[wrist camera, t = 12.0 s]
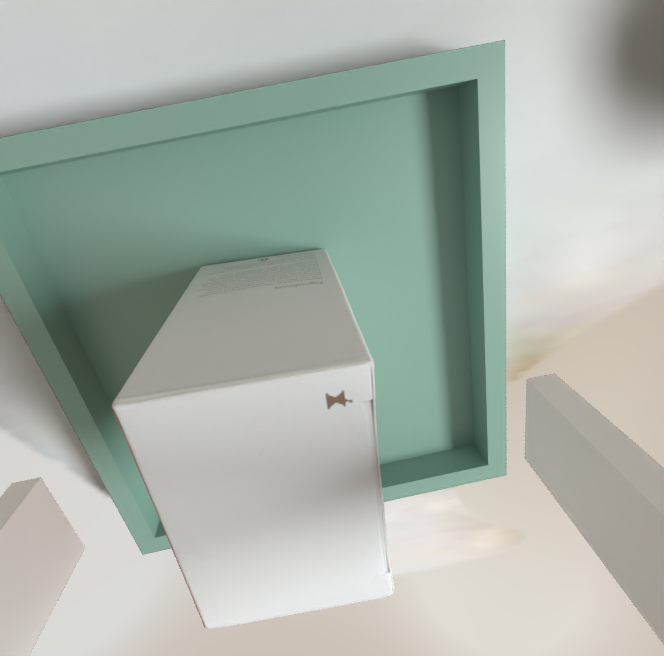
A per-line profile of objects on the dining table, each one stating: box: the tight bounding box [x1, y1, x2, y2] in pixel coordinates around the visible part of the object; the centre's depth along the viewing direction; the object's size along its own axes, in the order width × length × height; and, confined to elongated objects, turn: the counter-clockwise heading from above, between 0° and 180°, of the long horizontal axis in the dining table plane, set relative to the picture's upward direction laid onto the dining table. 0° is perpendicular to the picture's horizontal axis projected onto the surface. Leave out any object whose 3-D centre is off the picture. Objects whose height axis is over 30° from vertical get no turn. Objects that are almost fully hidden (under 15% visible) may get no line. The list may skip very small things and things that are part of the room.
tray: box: [0, 40, 506, 554], centre depth 19 cm, size 20×20×2 cm
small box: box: [112, 249, 394, 629], centre depth 15 cm, size 8×6×10 cm
